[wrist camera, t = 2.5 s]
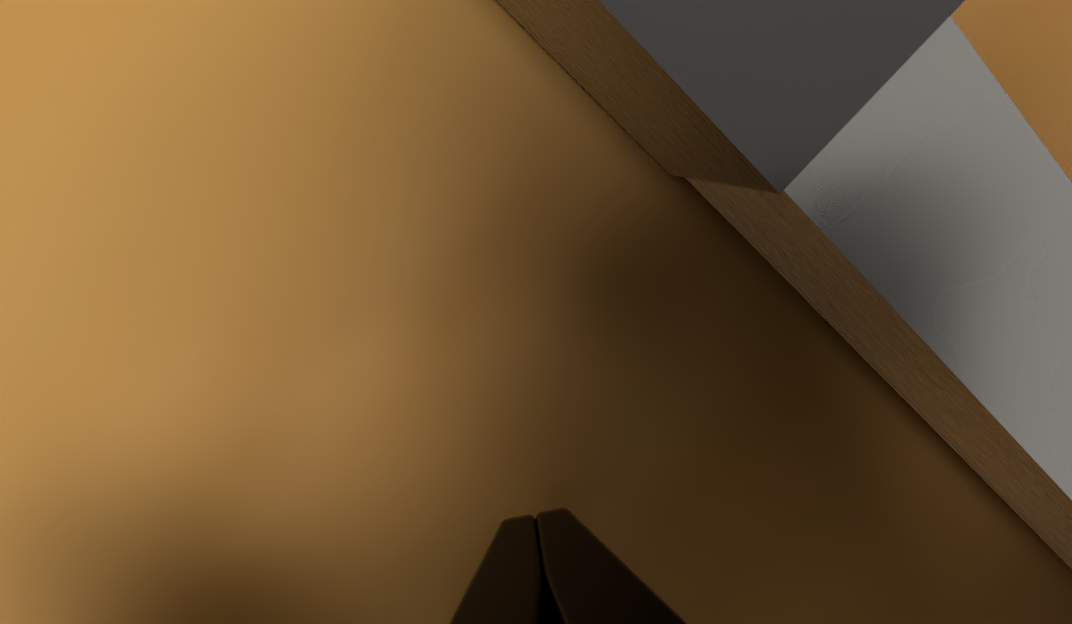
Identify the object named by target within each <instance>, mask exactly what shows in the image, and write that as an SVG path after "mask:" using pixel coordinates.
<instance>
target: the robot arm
mask: <svg viewBox="0 0 1072 624" xmlns="http://www.w3.org/2000/svg"><path fill="white" fill-rule="evenodd" d="M449 624H687V623H686V622H685V621H684V620H683V619H682V618H680V617H679V616H678V615H677V614H676V613H675V612H674V611H673V610H672V609H671V608H670V607H669V606H668V605H667V604H666V603H665V602H664V601H663V600H662V599H661V598H660V597H659V596H658V595H657V594H655V593H654V592H653V591H652V590H651V589H650V588H649V587H648V586H647V585H646V584H645V583H644V582H643V581H642V580H641V579H640V578H639V577H638V576H637V575H636V574H635V573H634V572H633V571H631V570H630V569H629V568H628V567H627V566H626V565H625V564H624V563H623V562H622V561H621V560H620V559H619V558H618V557H617V556H616V555H615V554H614V553H613V552H612V551H611V550H610V549H609V548H607V547H606V546H605V545H604V544H603V543H602V542H601V541H600V540H599V539H598V538H597V537H596V536H595V535H594V534H593V533H592V532H591V531H590V530H589V529H588V528H587V527H586V526H585V525H583V524H582V523H581V522H580V521H579V520H578V519H577V518H576V517H575V516H574V515H573V514H572V513H571V512H570V511H569V510H568V509H566V508H559V509H554V510H549V511H545V512H540V513H538V514H537V515H536V521H535V518H534V517H533V516H532V515H525V516H520V517H515V518H510V519H506V520H504V521H503V522H502V523H501V525H500V527H499V528H498V530H497V532H496V534H495V536H494V538H493V540H492V542H491V544H490V546H489V548H488V550H487V552H486V554H485V555H484V557H483V559H482V561H481V563H480V565H479V567H478V569H477V571H476V573H475V575H474V577H473V579H472V580H471V582H470V584H469V586H468V588H467V590H466V592H465V594H464V596H463V598H462V600H461V602H460V604H459V606H458V607H457V609H456V611H455V613H454V615H453V617H452V619H451V621H450V623H449Z"/></svg>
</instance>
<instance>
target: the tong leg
mask: <svg viewBox="0 0 1072 624" xmlns="http://www.w3.org/2000/svg"><path fill="white" fill-rule="evenodd" d="M497 1H498V2H499V3H500V4H501V5H502V6H503V7H504V8H505V9H506V10H507V11H508V12H509V13H510V14H511V15H512V16H513V17H514V18H515V19H516V20H517V21H518V22H519V23H520V24H521V25H522V26H523V27H524V28H525V29H526V30H527V31H528V32H529V33H530V34H531V35H532V36H533V37H534V38H535V39H536V40H537V41H538V42H539V43H540V44H541V45H542V46H543V47H544V48H545V49H546V50H547V51H548V52H549V54H550V55H551V56H552V57H553V58H554V59H555V60H556V61H557V62H558V63H559V64H560V65H561V66H562V67H563V68H564V69H565V70H566V71H567V72H568V73H569V74H570V75H571V76H572V77H573V78H574V79H575V80H576V81H577V82H578V83H579V84H580V85H581V86H582V87H583V88H584V89H585V90H586V91H587V92H588V93H589V94H590V95H591V96H592V97H593V98H594V99H595V100H596V101H597V102H598V103H599V104H600V105H601V106H602V107H603V108H604V109H605V110H606V111H607V112H608V113H609V114H610V115H611V116H612V117H613V118H614V119H615V120H616V121H617V122H618V123H619V124H620V125H621V126H622V127H623V128H624V129H625V130H626V131H627V132H628V133H629V134H630V135H631V136H632V137H633V138H634V139H635V140H636V141H637V142H638V143H639V144H640V145H641V146H642V147H643V148H644V149H645V150H646V151H647V152H648V153H649V154H650V155H651V156H652V157H653V158H654V159H655V160H656V161H657V162H658V163H659V164H660V165H661V166H662V167H663V168H664V169H665V170H666V171H667V172H668V173H669V174H670V175H674V176H680V177H685V178H686V179H687V180H688V181H689V182H690V183H691V184H692V185H693V186H694V187H695V188H696V189H697V190H698V191H699V192H700V194H701V195H702V196H703V197H704V198H705V199H706V200H707V201H708V202H709V203H710V204H711V205H712V206H713V207H714V208H715V209H716V210H717V211H718V212H719V213H720V214H721V215H722V216H723V217H724V218H725V219H726V220H727V221H728V222H729V223H730V224H731V225H732V226H733V227H734V228H735V229H736V230H737V231H738V232H739V233H740V234H741V235H742V236H743V237H744V238H745V239H746V240H747V241H748V242H749V243H750V244H751V245H752V246H753V247H754V248H755V249H756V250H757V251H758V252H759V253H760V254H761V255H762V256H763V257H764V258H765V259H766V260H767V261H768V262H769V263H770V264H771V265H772V266H773V267H774V268H775V269H776V270H777V271H778V272H779V273H780V274H781V275H782V276H783V277H784V279H785V280H786V281H787V282H788V283H789V284H790V285H791V286H792V287H793V288H794V289H795V290H796V291H797V292H798V293H799V294H800V295H801V296H802V297H803V298H804V299H805V300H806V301H807V302H808V303H809V304H810V305H811V306H812V307H813V308H814V309H815V310H816V311H817V312H818V313H819V314H820V315H821V316H822V317H823V318H824V319H825V320H826V321H827V322H828V323H829V324H830V325H831V326H832V327H833V328H834V329H835V330H836V331H837V332H838V333H839V334H840V335H841V336H842V337H843V338H844V339H845V340H846V341H847V342H848V343H849V344H850V345H851V346H852V347H853V348H854V349H855V350H856V351H857V352H858V353H859V354H860V355H861V356H862V357H863V358H864V359H865V360H866V361H867V362H868V364H869V365H870V366H871V367H872V368H873V369H874V370H875V371H876V372H877V373H878V374H879V375H880V376H881V377H882V378H883V379H884V380H885V381H886V382H887V383H888V384H889V385H890V386H891V387H892V388H893V389H894V390H895V391H896V392H897V393H898V394H899V395H900V396H901V397H902V398H903V399H904V400H905V401H906V402H907V403H908V404H909V405H910V406H911V407H912V408H913V409H914V410H915V411H916V412H917V413H918V414H919V415H920V416H921V417H922V418H923V419H924V420H925V421H926V422H927V423H928V424H929V425H930V426H931V427H932V428H933V429H934V430H935V431H936V432H937V433H938V434H939V435H940V436H941V437H942V438H943V439H944V440H945V441H946V442H947V443H948V444H949V445H950V446H951V447H952V449H953V450H954V451H955V452H956V453H957V454H958V455H959V456H960V457H961V458H962V459H963V460H964V461H965V462H966V463H967V464H968V465H969V466H970V467H971V468H972V469H973V470H974V471H975V472H976V473H977V474H978V475H979V476H980V477H981V478H982V479H983V480H984V481H985V482H986V483H987V484H988V485H989V486H990V487H991V488H992V489H993V490H994V491H995V492H996V493H997V494H998V495H999V496H1000V497H1001V498H1002V499H1003V500H1004V501H1005V502H1006V503H1007V504H1008V505H1009V506H1010V507H1011V508H1012V509H1013V510H1014V511H1015V512H1016V513H1017V514H1018V515H1019V516H1020V517H1021V518H1022V519H1023V520H1024V521H1025V522H1026V523H1027V524H1028V525H1029V526H1030V527H1031V528H1032V529H1033V530H1034V531H1035V532H1036V534H1037V535H1038V536H1039V537H1040V538H1041V539H1042V540H1043V541H1044V542H1045V543H1046V544H1047V545H1048V546H1049V547H1050V548H1051V549H1052V550H1053V551H1054V552H1055V553H1056V554H1057V555H1058V556H1059V557H1060V558H1061V559H1062V560H1063V561H1064V562H1065V563H1066V564H1067V565H1068V566H1069V567H1070V568H1071V569H1072V183H1071V181H1070V180H1069V178H1068V177H1067V176H1066V174H1065V173H1064V172H1063V170H1062V169H1061V167H1060V166H1059V165H1058V163H1057V162H1056V161H1055V159H1054V158H1053V156H1052V155H1051V154H1050V152H1049V151H1048V150H1047V148H1046V147H1045V145H1044V144H1043V143H1042V141H1041V140H1040V139H1039V137H1038V136H1037V135H1036V133H1035V132H1034V130H1033V129H1032V128H1031V126H1030V125H1029V124H1028V122H1027V121H1026V119H1025V118H1024V117H1023V115H1022V114H1021V113H1020V111H1019V110H1018V108H1017V107H1016V106H1015V104H1014V103H1013V102H1012V100H1011V99H1010V97H1009V96H1008V95H1007V93H1006V92H1005V91H1004V89H1003V88H1002V86H1001V85H1000V84H999V82H998V81H997V80H996V78H995V77H994V76H993V74H992V73H991V71H990V70H989V69H988V67H987V66H986V65H985V63H984V62H983V60H982V59H981V58H980V56H979V55H978V54H977V52H976V51H975V49H974V48H973V47H972V45H971V44H970V43H969V41H968V40H967V38H966V37H965V36H964V34H963V33H962V32H961V30H960V29H959V27H958V26H957V25H956V23H955V22H954V21H953V19H952V18H951V16H950V15H951V14H952V13H953V12H954V11H955V10H956V9H957V8H958V7H959V6H960V5H961V4H962V3H963V2H964V1H965V0H497Z"/></svg>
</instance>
